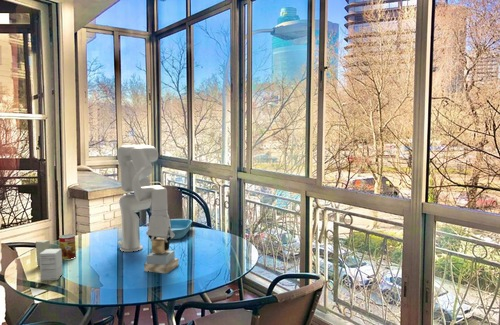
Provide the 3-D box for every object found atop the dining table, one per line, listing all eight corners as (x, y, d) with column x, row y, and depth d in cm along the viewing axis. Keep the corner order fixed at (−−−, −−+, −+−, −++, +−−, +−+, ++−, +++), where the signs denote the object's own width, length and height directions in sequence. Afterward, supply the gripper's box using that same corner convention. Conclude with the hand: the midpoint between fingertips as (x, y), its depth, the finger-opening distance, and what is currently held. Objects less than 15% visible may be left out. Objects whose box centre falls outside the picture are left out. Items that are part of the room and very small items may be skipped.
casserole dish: (162, 228, 281) (162, 218, 281) (194, 227, 281) (194, 217, 280) (148, 242, 245) (148, 230, 244) (184, 242, 244) (184, 230, 244)
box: (51, 265, 202) (50, 240, 202) (44, 267, 198) (43, 242, 197) (43, 264, 204) (42, 239, 203) (36, 266, 200) (35, 241, 199)
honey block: (152, 252, 193) (151, 240, 193) (158, 249, 199) (158, 237, 198) (162, 253, 191) (162, 241, 191) (169, 250, 197) (169, 238, 197)
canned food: (69, 260, 209) (68, 238, 208) (56, 259, 211) (55, 237, 210) (79, 256, 217) (78, 234, 216) (66, 255, 218) (65, 233, 218)
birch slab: (144, 272, 192) (144, 263, 192) (157, 264, 203) (157, 256, 203) (166, 274, 188) (166, 266, 188) (178, 266, 200) (178, 258, 199)
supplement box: (47, 275, 188) (45, 248, 187) (63, 274, 188) (62, 248, 188) (40, 280, 180) (38, 253, 180) (57, 280, 181) (55, 252, 180)
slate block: (146, 263, 192) (146, 255, 191) (156, 257, 201) (155, 249, 201) (166, 265, 190) (166, 256, 189) (174, 258, 199) (174, 250, 199)
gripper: (140, 213, 193) (141, 249, 194) (171, 215, 187) (172, 252, 189) (148, 210, 200) (149, 245, 201) (179, 212, 195) (180, 248, 196)
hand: (160, 248), depth 195 cm, fingers closed on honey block, 5 cm apart
